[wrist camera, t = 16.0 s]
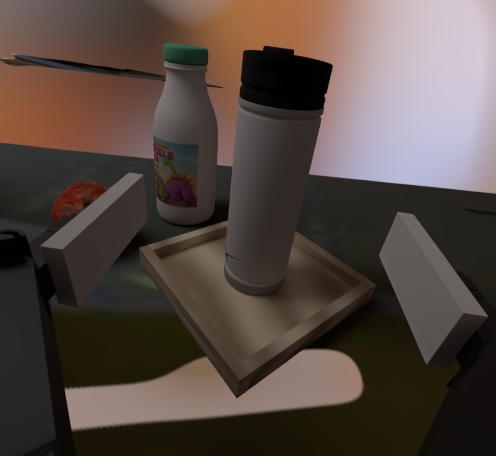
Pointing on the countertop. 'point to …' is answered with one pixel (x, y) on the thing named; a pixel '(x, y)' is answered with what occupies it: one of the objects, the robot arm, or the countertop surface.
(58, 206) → the pomegranate
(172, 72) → the milk bottle
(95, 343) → the countertop surface
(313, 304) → the wood tray
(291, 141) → the travel mug
